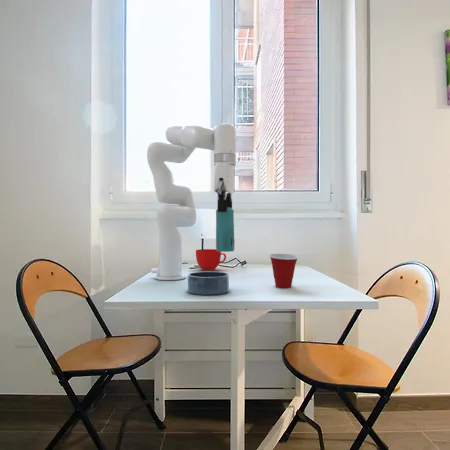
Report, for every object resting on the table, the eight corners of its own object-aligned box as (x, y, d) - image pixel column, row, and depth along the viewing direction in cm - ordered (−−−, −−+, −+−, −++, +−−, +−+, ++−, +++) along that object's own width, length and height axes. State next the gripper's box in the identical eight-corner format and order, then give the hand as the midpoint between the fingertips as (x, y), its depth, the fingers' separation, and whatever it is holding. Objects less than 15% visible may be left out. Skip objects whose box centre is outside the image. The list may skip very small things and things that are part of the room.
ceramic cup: (218, 272, 168) (218, 251, 168) (190, 270, 177) (190, 250, 177) (232, 269, 179) (232, 250, 179) (205, 267, 188) (205, 248, 188)
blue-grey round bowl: (186, 295, 115) (186, 277, 115) (189, 287, 130) (189, 271, 130) (229, 295, 116) (229, 277, 116) (227, 287, 130) (227, 271, 130)
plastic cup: (280, 290, 124) (280, 256, 124) (263, 285, 134) (263, 254, 134) (304, 288, 129) (304, 255, 129) (286, 283, 139) (286, 253, 139)
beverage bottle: (232, 256, 118) (232, 196, 118) (213, 255, 120) (213, 197, 119) (236, 254, 124) (236, 198, 124) (217, 254, 126) (217, 198, 126)
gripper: (220, 165, 131) (221, 213, 131) (207, 156, 114) (207, 211, 114) (240, 164, 129) (240, 212, 129) (229, 155, 113) (229, 211, 113)
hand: (225, 211), depth 122 cm, fingers closed on beverage bottle, 6 cm apart
